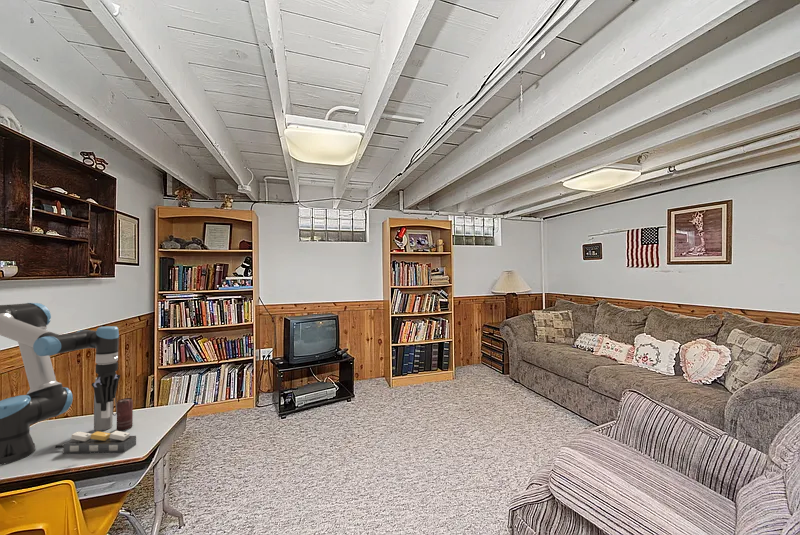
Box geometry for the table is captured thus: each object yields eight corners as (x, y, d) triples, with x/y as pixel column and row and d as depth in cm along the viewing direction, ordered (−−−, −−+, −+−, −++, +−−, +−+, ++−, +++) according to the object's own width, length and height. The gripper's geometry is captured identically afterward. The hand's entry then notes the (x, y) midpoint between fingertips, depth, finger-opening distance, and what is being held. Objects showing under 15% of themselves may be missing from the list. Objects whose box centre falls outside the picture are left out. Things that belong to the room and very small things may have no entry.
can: (124, 431, 170) (124, 402, 171) (113, 430, 172) (113, 401, 172) (136, 426, 176) (136, 397, 177) (125, 425, 178) (125, 397, 178)
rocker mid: (90, 438, 152) (91, 434, 152) (96, 435, 155) (97, 431, 155) (104, 440, 152) (105, 436, 152) (110, 437, 155) (111, 433, 155)
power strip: (48, 454, 149) (48, 444, 149) (63, 446, 156) (63, 436, 156) (124, 452, 150) (124, 443, 150) (136, 444, 157) (136, 435, 157)
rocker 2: (109, 438, 152) (110, 433, 152) (115, 434, 155) (116, 430, 155) (123, 440, 152) (124, 436, 152) (128, 437, 155) (129, 433, 155)
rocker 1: (70, 438, 151) (71, 434, 151) (77, 435, 155) (78, 431, 155) (85, 441, 151) (86, 437, 152) (91, 438, 155) (92, 433, 155)
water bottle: (97, 433, 169) (97, 380, 169) (90, 429, 173) (91, 377, 173) (120, 426, 177) (120, 375, 177) (113, 422, 181) (113, 373, 181)
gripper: (103, 366, 148) (102, 423, 147) (127, 359, 161) (125, 411, 160) (85, 366, 147) (83, 423, 147) (109, 358, 160) (108, 411, 160)
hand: (105, 417), depth 154 cm, fingers closed
